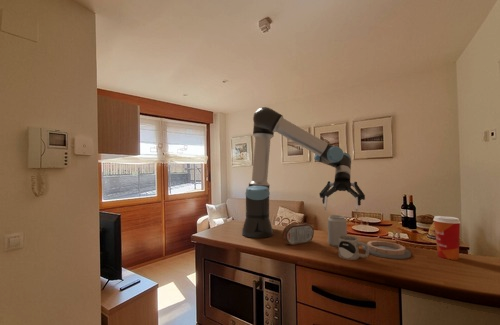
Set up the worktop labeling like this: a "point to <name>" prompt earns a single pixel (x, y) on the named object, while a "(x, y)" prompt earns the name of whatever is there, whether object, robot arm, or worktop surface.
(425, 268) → the worktop surface
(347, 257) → the mug
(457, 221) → the paper cup
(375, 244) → the coaster
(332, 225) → the can
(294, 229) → the tin
